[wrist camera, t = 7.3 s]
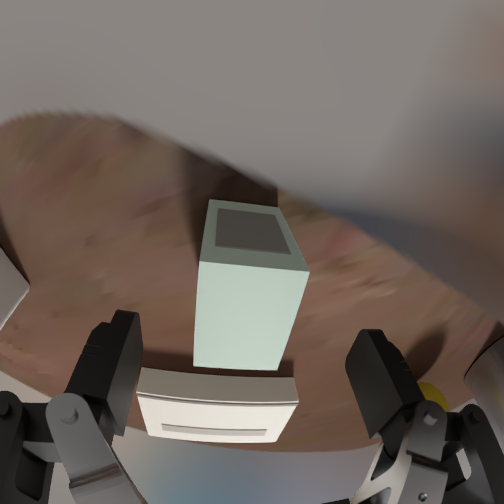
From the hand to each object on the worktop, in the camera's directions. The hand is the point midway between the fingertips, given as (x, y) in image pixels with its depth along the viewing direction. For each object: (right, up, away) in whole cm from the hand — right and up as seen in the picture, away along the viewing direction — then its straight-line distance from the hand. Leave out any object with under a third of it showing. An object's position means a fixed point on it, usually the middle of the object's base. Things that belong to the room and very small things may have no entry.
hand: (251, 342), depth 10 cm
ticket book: (-3, -10, +13) cm, 16 cm away
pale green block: (-1, +3, +6) cm, 7 cm away
